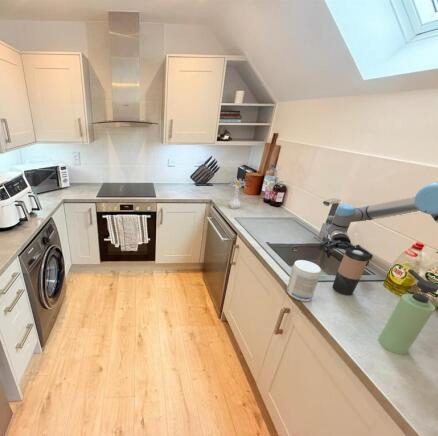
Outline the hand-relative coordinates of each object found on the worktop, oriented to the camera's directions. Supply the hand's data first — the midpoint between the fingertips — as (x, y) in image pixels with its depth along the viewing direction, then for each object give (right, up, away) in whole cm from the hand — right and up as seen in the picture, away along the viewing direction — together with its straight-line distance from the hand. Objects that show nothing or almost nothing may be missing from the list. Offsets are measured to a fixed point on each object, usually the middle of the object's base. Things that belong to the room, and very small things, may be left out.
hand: (347, 259), depth 106 cm
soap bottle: (-8, -24, -27) cm, 37 cm away
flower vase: (-18, +28, +93) cm, 98 cm away
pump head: (-7, -2, -34) cm, 34 cm away
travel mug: (-4, -13, -2) cm, 14 cm away
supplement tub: (-25, -15, -4) cm, 29 cm away
